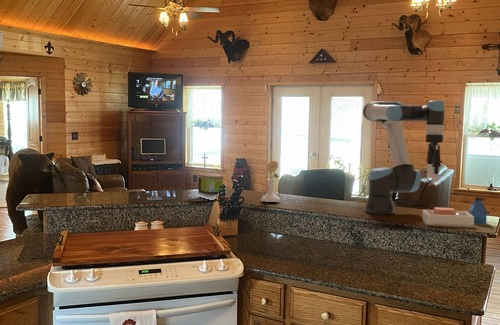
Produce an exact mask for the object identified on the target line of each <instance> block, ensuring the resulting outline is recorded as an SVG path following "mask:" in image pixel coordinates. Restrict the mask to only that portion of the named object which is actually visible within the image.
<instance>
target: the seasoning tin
mask: <svg viewBox="0 0 500 325" xmlns="http://www.w3.org/2000/svg"><path fill="white" fill-rule="evenodd" d="M433 210H434V215H456V211H457V210H456V209H455V208H453V207H437V206H435V207H433Z"/></svg>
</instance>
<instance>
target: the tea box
mask: <svg viewBox="0 0 500 325" xmlns="http://www.w3.org/2000/svg"><path fill="white" fill-rule="evenodd" d="M197 178H198V179H197V180H198V182H197V184H198V186H197V187H198V188H197V192H198V193H197V194H200V195H203V196H206V197H215V196H217V195H218V193H219V187H220V186H222V185H223V186H224V176H223V175H221V174H213V173H200V174H198V177H197Z"/></svg>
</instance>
